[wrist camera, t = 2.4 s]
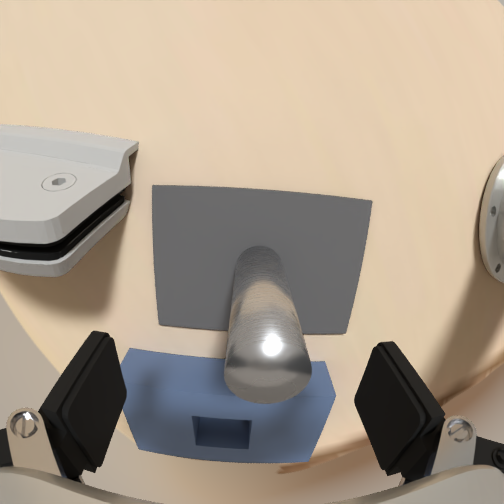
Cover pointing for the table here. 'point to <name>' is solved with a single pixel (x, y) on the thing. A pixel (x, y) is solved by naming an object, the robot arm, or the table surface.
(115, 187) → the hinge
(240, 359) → the peg
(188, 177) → the table surface
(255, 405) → the hole block
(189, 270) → the mat
